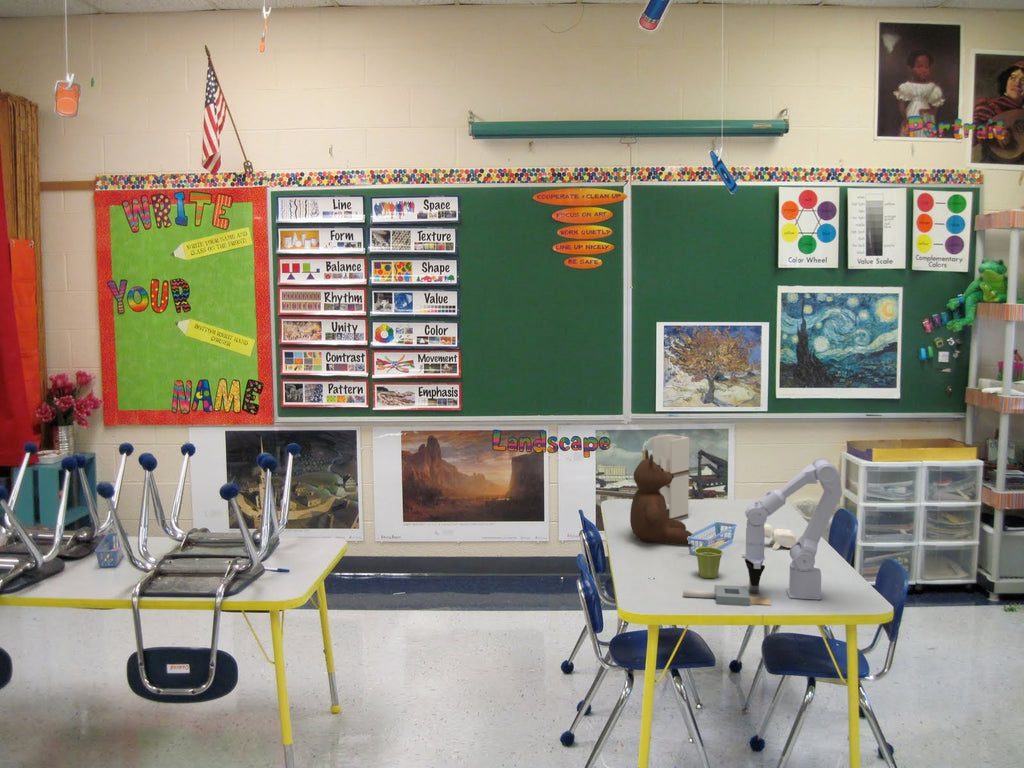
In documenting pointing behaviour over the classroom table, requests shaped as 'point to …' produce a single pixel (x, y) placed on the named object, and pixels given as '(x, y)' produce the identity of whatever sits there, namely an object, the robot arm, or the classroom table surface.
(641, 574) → the classroom table surface
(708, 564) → the plant pot
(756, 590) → the shiny metal cylinder
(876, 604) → the classroom table surface
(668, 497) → the white banded box
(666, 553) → the classroom table surface
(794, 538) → the white animal figurine
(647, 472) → the stuffed bear
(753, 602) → the pad
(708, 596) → the block
